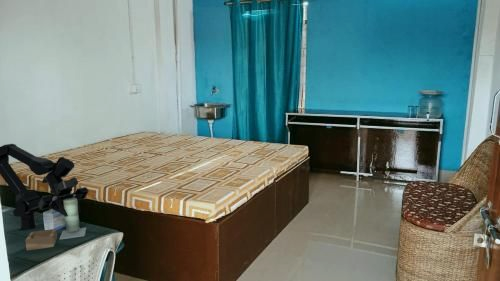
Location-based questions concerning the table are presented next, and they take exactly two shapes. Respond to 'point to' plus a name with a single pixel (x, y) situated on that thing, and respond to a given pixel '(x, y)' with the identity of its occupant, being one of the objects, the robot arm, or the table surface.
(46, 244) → the pocket frame
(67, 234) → the slate pad
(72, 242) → the table surface
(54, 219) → the medicine box
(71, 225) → the pale green cylinder
